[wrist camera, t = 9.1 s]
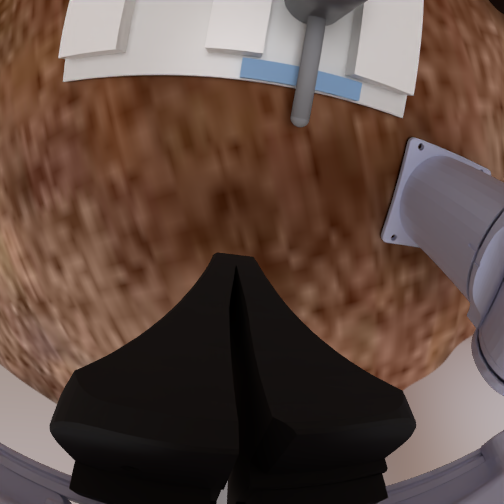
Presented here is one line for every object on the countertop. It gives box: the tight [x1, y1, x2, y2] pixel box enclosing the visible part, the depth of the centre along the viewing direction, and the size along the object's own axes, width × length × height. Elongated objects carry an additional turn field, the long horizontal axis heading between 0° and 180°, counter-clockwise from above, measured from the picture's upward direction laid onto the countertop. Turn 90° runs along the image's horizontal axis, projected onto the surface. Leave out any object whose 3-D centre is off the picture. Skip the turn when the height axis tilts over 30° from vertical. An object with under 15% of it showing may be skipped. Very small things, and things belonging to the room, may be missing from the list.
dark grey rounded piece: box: [284, 0, 368, 127], centre depth 10 cm, size 4×10×8 cm, turn 171°
